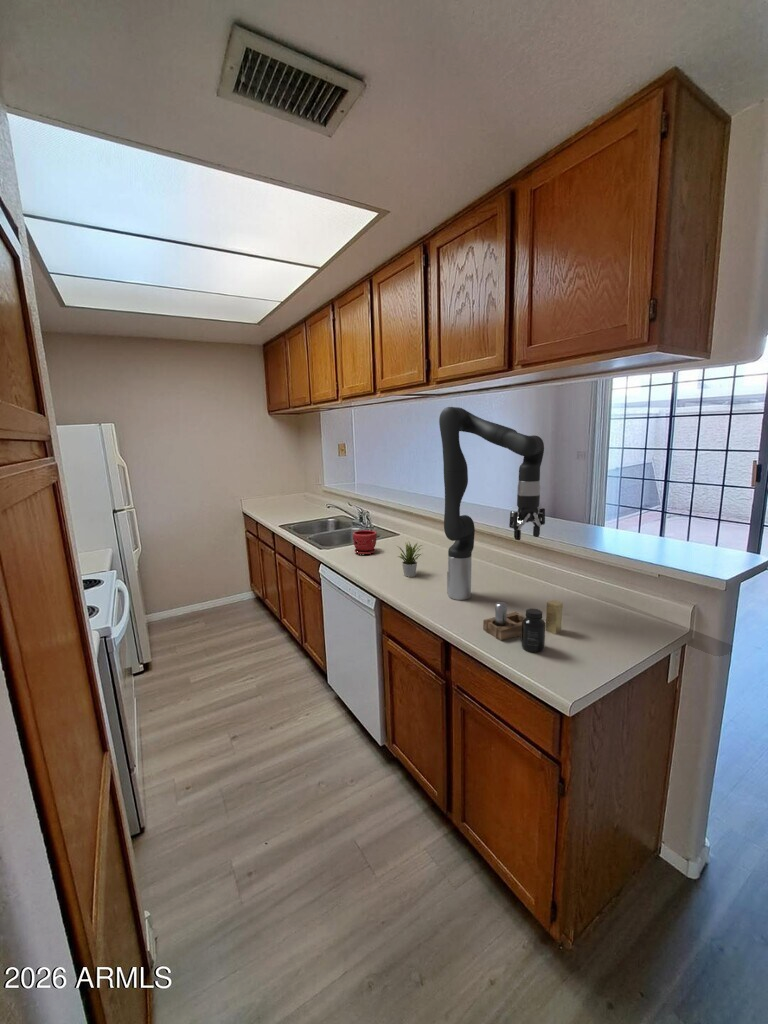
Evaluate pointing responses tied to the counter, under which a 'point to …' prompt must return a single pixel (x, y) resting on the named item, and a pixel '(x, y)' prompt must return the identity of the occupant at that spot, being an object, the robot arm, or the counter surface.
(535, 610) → the supplement bottle
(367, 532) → the plant pot
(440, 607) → the counter surface
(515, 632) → the bore block
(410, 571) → the house plant
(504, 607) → the cylinder
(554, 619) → the square bit
